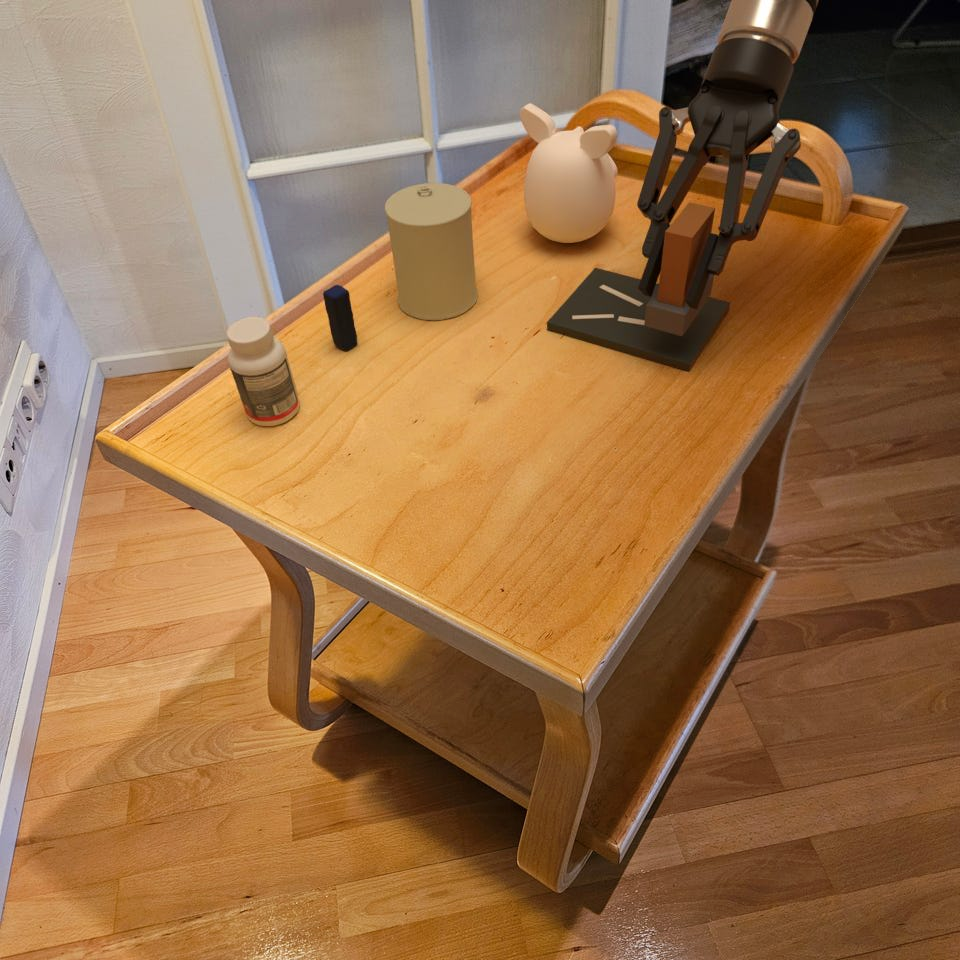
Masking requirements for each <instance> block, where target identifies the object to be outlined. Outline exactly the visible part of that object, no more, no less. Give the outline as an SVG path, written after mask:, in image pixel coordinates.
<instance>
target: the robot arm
mask: <svg viewBox="0 0 960 960" xmlns="http://www.w3.org/2000/svg"><path fill="white" fill-rule="evenodd" d="M819 1H820V0H731V1H730V4H729V7H728V10H727V12H726V15H725V18H724V20H723V23H722V25H721V28H720V31H719V34H718V37H717V43H718V44H717V45H716V46H715V47H714V48H713V52H712V55H711V57H710V60H709V63H708V66H707V68H706V70H705V74H704V76H703V80H702V82H701V86H700V89H699V92H698V93H697V95H696V96H695V97H694V98H693V99H692V100H691V102H690V103H689V105H688V106H687V107H683V108H682V107H681V108H678V109H673V110H672V108H671V107H669V106H664V107H662V108H661V109H660V110H659V111H658V124H659V132H658V135H657V139H656V142H655V145H654V148H653V151H652V154H651V157H650V161H649V163H648V167H647V171H646V173H645V177H644V180H643V184H642V187H641V190H640V193H639V195H638V199H637V204H636V206H637V208H638V210H639V211H640V213H641V214H642V216H643V217H644V218H647V219H648V220H649V221H650V224H649V227H648V229H647V232H646V235H645V238H644V241H643V243H642V246H641V254H642V256H644V258H646V259H647V260H646V263H645V267H644V270H643V272H642V275H641V278H640V279H641V281H640V284H639V286H638V289H639V290H640V291H641V292H642V293H643V294H644V295H646V296H649V297H651V296H652V293H653V291H654V288H655V285H656V283H658V280H659V278H660V272H661V264H662V255H663V246H664V238H665V231H666V230H667V229H668V228H669V226H670V225H671V222H673V219H674V217H675V216H676V214H677V212H678V211H679V209H680V208H681V205H682V204H683V201H684V200H685V198H686V197H687V195H688V193H689V192H690V190H691V188H692V186H693V184H694V183H695V181H696V179H697V178H698V176H699V174H700V172H701V171H702V169H703V167H705V166H706V165H707V164H708V162H709V160H710V159H711V157H724V158H725V159H727V160H728V161H729V162H728V169H727V175H726V182H725V189H724V196H723V203H722V207H721V208H722V209H721V216H720V222H719V225H718V227H717V229H718V234H716V233H714V232H713V233H712V232H711V233H709V235H708V238H707V241H706V244H705V246H704V249H703V252H702V255H701V257H700V260H699V263H698V266H697V268H696V271H695V274H694V277H693V280H692V282H691V285H690V288H689V291H688V293H687V296H686V299H685V301H686V303H687V304H688V306H689V307H690V308H694V309H698V306H699V303H700V300H701V298H702V295H703V292H704V289H705V287H706V284H707V281H708V278H709V276H710V274H713V275H714V276H718V277H719V276H720V275H721V274H722V272H723V271H724V268H725V265H726V262H727V260H728V258H729V254H730V252H731V249H732V246H733V245H734V244H735V243H737V242H741V241H747V242H752V241H754V240H756V238H757V237H758V235H759V232H760V231H761V230H760V229H761V227H762V225H763V222H764V220H765V217H766V215H767V213H768V210H769V208H770V205H771V203H772V200H773V198H774V197H775V193H776V191H777V189H778V187H779V184H780V181H781V178H782V176H783V174H784V171H785V169H786V166H787V165H788V163H790V161H791V160H792V159H793V158H794V156H795V155H796V154H797V153H798V152H799V150H800V149H801V148H802V147H801V146H802V144H801V143H802V142H801V133H800V131H799V129H797V128H790V129H789V128H787V126H784V125H783V124H782V123H781V122H780V109H781V106H782V103H783V101H784V97H785V95H786V92H787V90H788V87H789V84H790V81H791V80H792V77H793V73H794V69H795V67H794V64H795V63H796V62H797V61H798V58H799V57H800V54H801V51H802V48H803V45H804V43H805V40H806V37H807V35H808V32H809V29H810V26H811V24H812V22H813V18H814V15H815V13H816V10H817V7H818V4H819ZM688 123H690V125H691V128H692V131H693V134H694V136H693V138H692V140H691V142H690V143H689V146H688V150H687V153H686V154H685V156H684V157H683V159H682V161H681V162H680V164H679V166H678V168H677V170H676V171H675V173H674V175H673V177H672V178H671V180H670V182H669V184H668V185H667V186H666V189H665V191H664V192H663V194H662V191H663V188H664V184H665V182H666V178H667V176H668V172H669V168H670V166H671V162H672V158H673V156H674V153H675V149H676V145H677V140H678V139H677V138H678V136H680V135H681V134H682V133H684V132H683V131H684V129H685V126H686V124H688ZM771 137H772V140H771V142H770V146H771V147H770V148H771V152H770V154H769V156H768V159H767V162H766V163H765V166H764V168H763V172H762V173H761V176H760V178H759V181H758V183H757V185H756V188H755V190H754V193H753V196H752V198H751V201H750V203H749V205H748V208H747V210H746V212H745V214H744V218H743V220H742V222H739V220H740V212H741V205H742V200H743V194H744V193H743V192H744V186H745V180H746V173H747V171H748V166H749V159H750V154H751V153H753V152H754V151H755V150H756V149H758V147H760V146H761V145H763V144H764V143H765V142H766V141H767V140H769V139H771ZM661 195H662V196H661ZM660 196H661V197H660Z"/></svg>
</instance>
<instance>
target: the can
mask: <svg viewBox="0 0 960 960" xmlns="http://www.w3.org/2000/svg"><path fill="white" fill-rule="evenodd" d="M472 203H473V201H472V198H471V196H470V193H468V192H467V191H466V190H464V189H463V188H462V187H459V186H457V185H453V184H448V183H443V182H441V183H440V182H426V183H419V184H414V185H410V186H407V187H404V188H402V189H399V190H398V191H396V192H395V193H393V194H391V195H390V196H389V197H388V198H387V200H386V202H385V203H384V213H385V215H386V222H387V229H388V235H389V241H390V247H391V253H392V260H393V261H392V262H393V268H394V274H395V282H396V289H397V297H396V300H397V304H398V307H399V308H400V310H401V311H403V312H404V313H405V314H407V315H408V316H410V317H412V318H414V319H418V320H423V321H442V320H449V319H453V318H456V317H458V316H461V315H463V314H464V313H466V312H468V311H469V310H470V309H471V308H473V307H474V305H475V304H476V302H477V300H478V298H479V290H478V287H477V280H476V268H475V253H474V252H475V251H474V238H473V235H474V234H473V215H472Z"/></svg>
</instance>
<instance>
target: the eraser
mask: <svg viewBox="0 0 960 960" xmlns="http://www.w3.org/2000/svg"><path fill="white" fill-rule="evenodd" d="M322 295H323V301H324V307H325V311H326V314H327V318H328V324H329V329H330V334H331V338H332V341H333V344H334V346H335V347H336V348H337V349H339V350H341V351H343V352H349V351H351V350H352V349H353V348H355V347H357V346H358V334H357V330H356V327H355V319H354V313H353V310H352V302H351V295H350V291H349V290H348V289H347V288H345V287H343V285H340V284H335V285H332V287H330V288H328V289H326V290H324V291H323V292H322Z"/></svg>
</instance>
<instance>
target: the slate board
mask: <svg viewBox="0 0 960 960" xmlns="http://www.w3.org/2000/svg"><path fill="white" fill-rule="evenodd" d="M640 281H641V278H638V277H633V276H630V275H625V274H622V273H618V272H614V271H610V270H606V269H602V268H598V267H594V268H593V269H592V271H591V272H590V273H589V274H588V275H587V276H586V277H585V279H583V281H582V282H581V283H580V284H579V285H578V287H577V288H576V289H574V291H573V292H572V293H571V294H570V296H569V297H567V298H566V300H565V301H564V302H563V303H562V304H561V306H560V307H558V309H557V310H556V311H555V313H554V314H553V315H551V316H550V318H549V319H548V321H547V322H546V331H551V332H554V333H557V334H560V335H564V336H567V337H571V338H575V339H578V340H581V341H584V342H588V343H591V344H595V345H598V346H601V347H605V348H608V349H611V350H615V351H618V352H621V353H625V354H628V355H632V356H635V357H638V358H641V359H645V360H649V361H650V362H651V361H652V362H654V363H659V364H662V365H665V366H668V367H672V368H675V369H679V370H682V371H686V372H690V371H691V369H692V367H693V366H694V364H695V363H696V362H697V360H698V359H699V356H700V355H701V354H702V352H703V350H704V349H705V347H707V344H709V341H710V340H711V338H712V336H713V335H714V334H715V332H716V331H717V329H718V327H719V326H720V325H721V323H722V321H723V320H724V318H725V317H726V316H727V313H728V312H729V310H730V306H731V302H730V301H727V300H723V299H719V298H715V297H711V296H710V297H709V298H708V300H707V301H706V303H705V304H704V306H703V307H702V309H701V310H700V311H699V313H698V314H697V316H696V317H695V319H694V320H693V322H692V323H691V325H690V326H689V327H688V329H687V330H686V332H685V333H684V335H683V336H679V335H675V334H672V333H668V332H665V331H661V330H657V329H654V328H650V327H647V326H644V323H645V313H646V305H647V303H648V302H649V301H650V299H651V298H652V297H653V296H654V294H655V293H656V292H657V290H658V289H659V283H658V282H656V285H655V288H654V291H653V293H652V296H651V297H649V296H646V295H644V294H643V293H642V292H641V291H640V290H639V289H638V286H639V284H640Z"/></svg>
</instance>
